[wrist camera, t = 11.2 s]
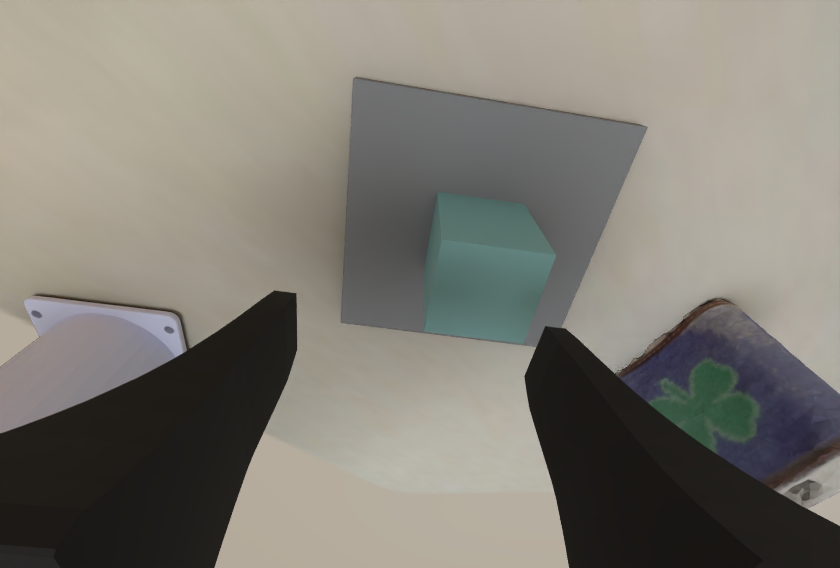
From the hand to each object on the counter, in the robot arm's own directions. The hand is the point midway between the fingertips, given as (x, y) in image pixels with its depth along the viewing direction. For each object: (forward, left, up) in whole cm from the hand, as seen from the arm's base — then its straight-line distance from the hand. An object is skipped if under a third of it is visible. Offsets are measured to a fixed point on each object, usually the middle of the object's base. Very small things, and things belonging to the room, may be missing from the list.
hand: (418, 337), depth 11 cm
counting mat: (0, -3, -9) cm, 9 cm away
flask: (-6, -16, -9) cm, 19 cm away
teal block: (0, -3, -8) cm, 8 cm away
